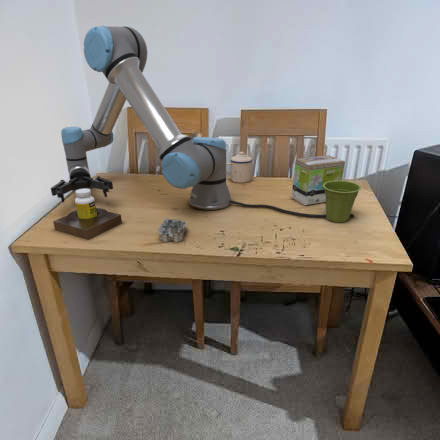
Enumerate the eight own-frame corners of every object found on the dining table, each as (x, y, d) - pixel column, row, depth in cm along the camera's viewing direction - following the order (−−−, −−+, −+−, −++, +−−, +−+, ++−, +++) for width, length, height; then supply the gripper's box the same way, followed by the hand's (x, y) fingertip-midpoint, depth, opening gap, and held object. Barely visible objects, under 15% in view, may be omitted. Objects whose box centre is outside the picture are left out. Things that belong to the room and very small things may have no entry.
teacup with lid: (250, 176, 179) (251, 149, 173) (252, 183, 172) (253, 154, 165) (223, 177, 179) (223, 149, 173) (223, 183, 172) (223, 155, 165)
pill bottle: (95, 226, 134) (89, 193, 128) (76, 226, 134) (70, 193, 128) (100, 219, 139) (95, 187, 133) (82, 219, 139) (76, 187, 133)
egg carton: (181, 243, 123) (180, 230, 120) (157, 242, 123) (155, 229, 121) (188, 228, 132) (187, 216, 129) (165, 227, 132) (164, 215, 130)
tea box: (305, 206, 148) (310, 165, 140) (290, 198, 155) (294, 158, 148) (339, 200, 153) (346, 160, 145) (323, 192, 161) (328, 153, 153)
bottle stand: (124, 222, 137) (123, 213, 135) (88, 239, 125) (86, 230, 124) (89, 213, 144) (88, 205, 142) (52, 229, 132) (50, 220, 131)
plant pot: (311, 215, 140) (315, 183, 134) (340, 210, 144) (345, 178, 138) (333, 228, 131) (338, 193, 125) (362, 222, 135) (369, 188, 129)
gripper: (116, 184, 156) (124, 201, 139) (46, 191, 149) (46, 211, 132) (113, 164, 152) (121, 180, 135) (41, 170, 146) (40, 188, 129)
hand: (84, 195), depth 134 cm, fingers open, 13 cm apart
